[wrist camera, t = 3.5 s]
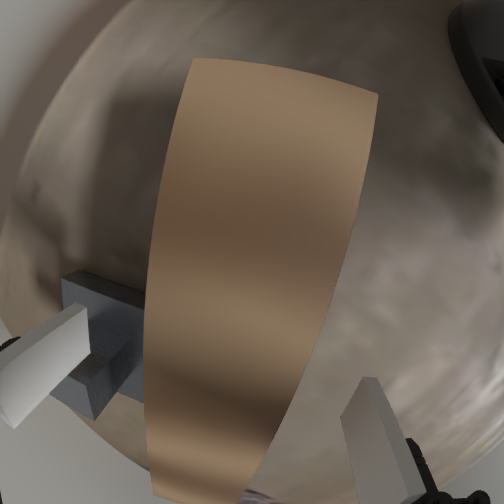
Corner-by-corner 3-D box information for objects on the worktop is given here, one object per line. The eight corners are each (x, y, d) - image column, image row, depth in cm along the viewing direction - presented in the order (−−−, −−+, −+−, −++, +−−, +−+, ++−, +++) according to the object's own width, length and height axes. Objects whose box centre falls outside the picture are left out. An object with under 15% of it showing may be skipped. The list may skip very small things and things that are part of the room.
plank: (221, 100, 10) (193, 57, 6) (344, 126, 9) (378, 94, 6) (170, 455, 15) (153, 494, 11) (236, 472, 14) (228, 515, 11)
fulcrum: (78, 269, 16) (8, 303, 10) (176, 302, 16) (120, 366, 9) (84, 356, 18) (36, 402, 11) (168, 392, 18) (133, 458, 11)
